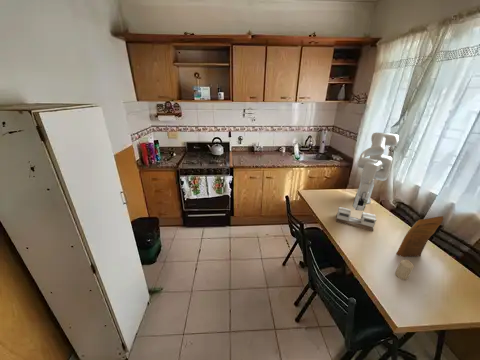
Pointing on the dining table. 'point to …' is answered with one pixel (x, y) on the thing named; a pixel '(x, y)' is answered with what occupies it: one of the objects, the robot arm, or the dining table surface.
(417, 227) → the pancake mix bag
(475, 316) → the dining table surface
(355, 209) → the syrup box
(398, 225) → the dining table surface
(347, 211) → the rail board
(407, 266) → the candle
